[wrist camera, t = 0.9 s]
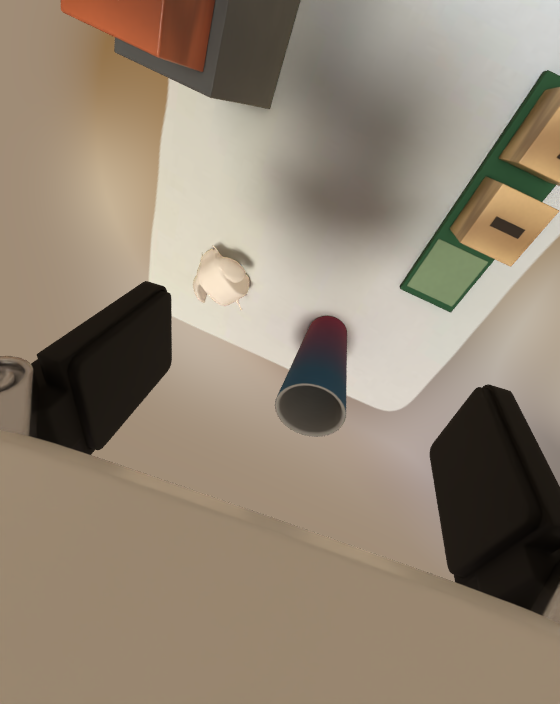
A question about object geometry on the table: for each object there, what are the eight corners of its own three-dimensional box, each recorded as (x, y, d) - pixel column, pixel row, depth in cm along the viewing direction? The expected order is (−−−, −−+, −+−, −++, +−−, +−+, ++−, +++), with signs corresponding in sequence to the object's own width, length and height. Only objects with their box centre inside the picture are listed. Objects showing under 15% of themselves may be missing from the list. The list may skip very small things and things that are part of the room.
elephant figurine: (234, 229, 38) (213, 243, 34) (271, 286, 41) (257, 306, 37) (194, 257, 42) (170, 273, 37) (231, 308, 45) (214, 329, 40)
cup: (292, 335, 45) (262, 411, 33) (321, 299, 41) (299, 370, 29) (332, 362, 46) (317, 446, 34) (365, 329, 42) (361, 411, 30)
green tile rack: (543, 71, 26) (581, 58, 21) (615, 106, 26) (669, 101, 21) (399, 286, 38) (403, 309, 33) (449, 309, 38) (460, 335, 33)
